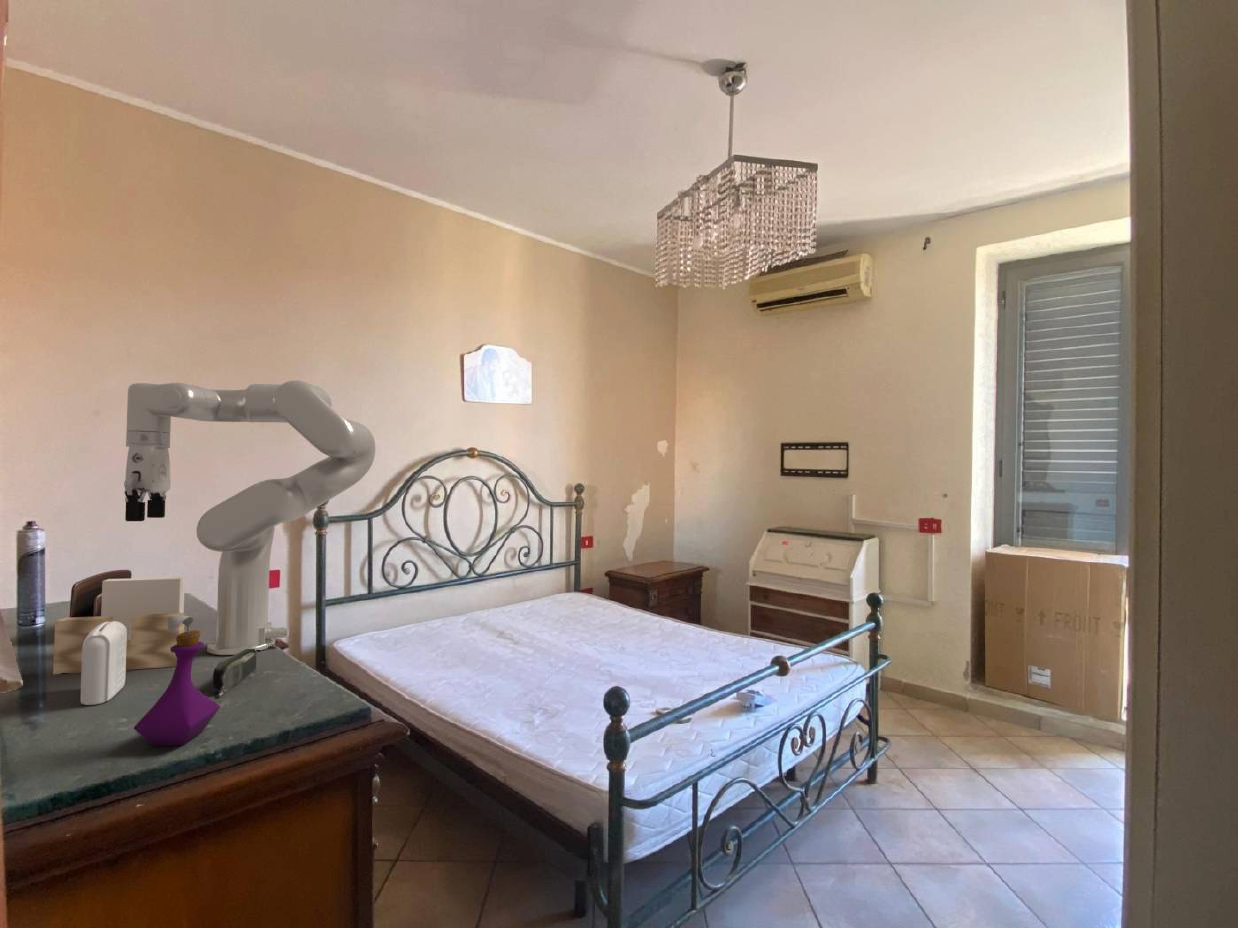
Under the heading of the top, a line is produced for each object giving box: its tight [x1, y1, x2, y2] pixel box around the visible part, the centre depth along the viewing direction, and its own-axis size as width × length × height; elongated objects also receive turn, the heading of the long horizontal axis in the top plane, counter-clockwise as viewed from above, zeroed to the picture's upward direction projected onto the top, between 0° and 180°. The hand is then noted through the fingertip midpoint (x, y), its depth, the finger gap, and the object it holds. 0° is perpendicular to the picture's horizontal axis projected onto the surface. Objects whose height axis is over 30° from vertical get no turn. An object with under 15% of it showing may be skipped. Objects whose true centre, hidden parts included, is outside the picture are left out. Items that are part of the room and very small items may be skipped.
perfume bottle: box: [133, 615, 221, 747], centre depth 86 cm, size 8×8×18 cm
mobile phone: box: [212, 649, 257, 698], centre depth 109 cm, size 5×3×15 cm
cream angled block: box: [101, 576, 186, 641], centre depth 128 cm, size 14×2×15 cm, turn 107°
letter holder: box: [69, 569, 133, 618], centre depth 142 cm, size 10×20×14 cm, turn 9°
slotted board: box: [52, 612, 186, 675], centre depth 116 cm, size 20×2×10 cm, turn 107°
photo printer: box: [80, 621, 127, 706], centre depth 102 cm, size 10×4×12 cm, turn 26°
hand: (145, 519), depth 129 cm, fingers open, 9 cm apart
